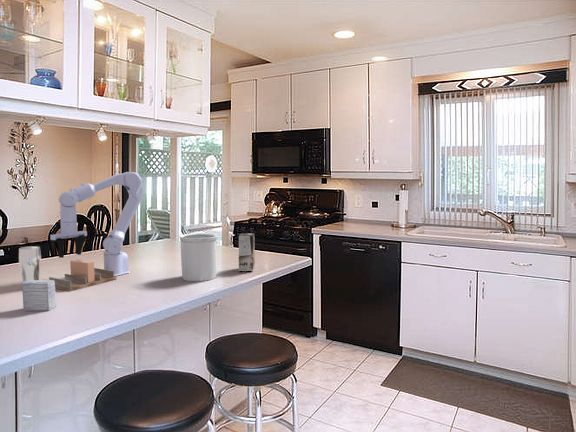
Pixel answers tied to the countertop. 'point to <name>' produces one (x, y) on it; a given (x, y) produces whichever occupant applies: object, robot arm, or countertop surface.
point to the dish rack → (83, 280)
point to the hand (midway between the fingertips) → (70, 255)
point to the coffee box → (246, 251)
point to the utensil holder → (198, 256)
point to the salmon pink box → (83, 269)
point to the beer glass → (30, 262)
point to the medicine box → (39, 295)
